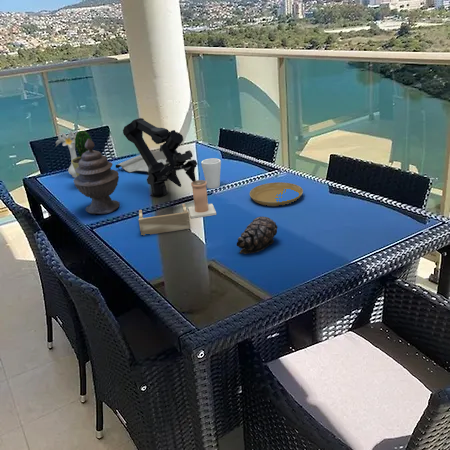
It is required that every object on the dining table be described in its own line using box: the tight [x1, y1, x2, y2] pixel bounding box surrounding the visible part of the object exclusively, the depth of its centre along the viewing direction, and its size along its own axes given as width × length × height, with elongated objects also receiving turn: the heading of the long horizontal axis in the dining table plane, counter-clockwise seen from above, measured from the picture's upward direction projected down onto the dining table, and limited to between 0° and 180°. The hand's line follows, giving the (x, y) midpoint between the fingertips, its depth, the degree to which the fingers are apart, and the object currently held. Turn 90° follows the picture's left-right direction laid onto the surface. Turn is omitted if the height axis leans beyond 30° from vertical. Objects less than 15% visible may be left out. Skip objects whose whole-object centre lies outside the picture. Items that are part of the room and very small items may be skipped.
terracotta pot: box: [190, 179, 209, 212], centre depth 207 cm, size 7×7×13 cm
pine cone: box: [236, 216, 279, 255], centre depth 175 cm, size 10×18×10 cm, turn 145°
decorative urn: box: [73, 138, 121, 215], centre depth 215 cm, size 20×20×34 cm
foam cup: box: [200, 157, 222, 189], centre depth 236 cm, size 10×9×13 cm
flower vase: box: [55, 130, 88, 178], centre depth 268 cm, size 13×18×25 cm
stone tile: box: [187, 203, 217, 219], centre depth 210 cm, size 11×11×1 cm
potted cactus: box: [71, 129, 92, 176], centre depth 249 cm, size 15×15×30 cm
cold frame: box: [138, 203, 191, 236], centre depth 201 cm, size 18×20×7 cm
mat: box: [115, 154, 170, 174], centre depth 277 cm, size 23×24×5 cm
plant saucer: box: [249, 181, 304, 207], centre depth 218 cm, size 24×24×3 cm
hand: (188, 184), depth 213 cm, fingers open, 9 cm apart
